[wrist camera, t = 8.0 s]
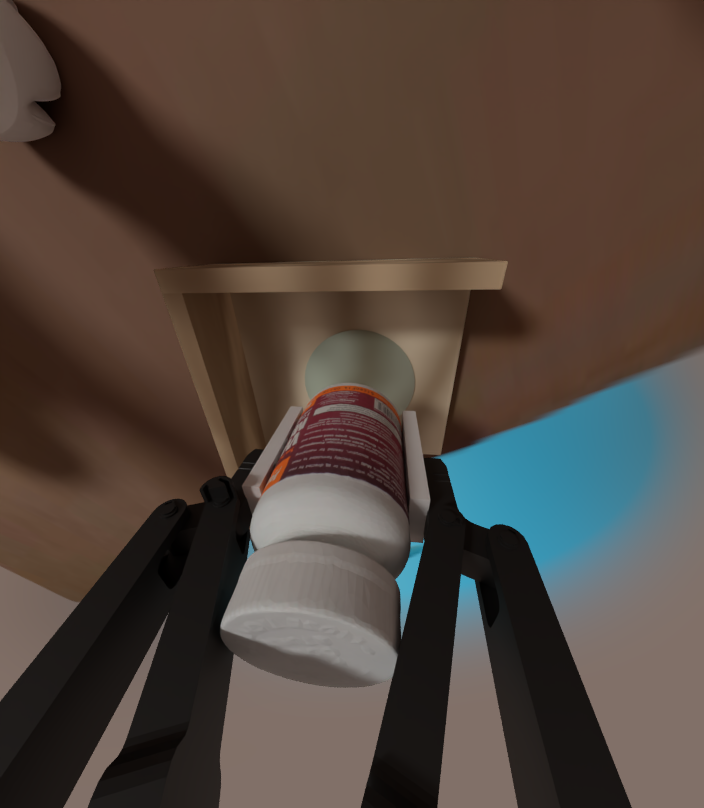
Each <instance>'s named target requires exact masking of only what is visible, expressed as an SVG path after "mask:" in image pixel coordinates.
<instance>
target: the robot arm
mask: <svg viewBox="0 0 704 808" xmlns="http://www.w3.org/2000/svg"><path fill="white" fill-rule="evenodd" d="M302 413H303V407H295V406H291V407H290V408H289V410H288V412H287V413H286V415H285V416H284V418H283V420H282V421H281V423H280V425H279V426H278V428H277V430H276V431H275V433H274V434H273V436H272V438H271V439H270V441H269V443H268V444H267V446H266V447H265V449H254V450H253V451H252V452H250V453H249V454H248V455H247V456H246V458H245V459H244V461H243V463H242V464H241V465H240V467H239V469H237V471H236V472H235V474H234V475H233V477H232V478H230V477H227V476H219V477H215V478H212V479H210V480H209V481H207V482H206V483H205V484H203V485H202V487H201V488H200V492H201V495H202V497H203V499H204V501H205V502H203V503H198V504H193V505H188V506H187V504H186V502H185V501H184V500H182V499H172V500H169V501H167V502H165V503H163V504H161V505H160V506H158V507H157V508H156V509H155V510H154V511H153V513H152V514H151V515H150V516H149V518H148V519H147V520H146V521H145V523H144V524H143V525H142V526H141V527H140V529H139V530H138V531H137V532H136V534H135V535H134V536H133V537H132V539H131V540H130V541H129V542H128V544H127V545H126V546H125V547H124V549H123V550H122V551H121V552H120V554H119V555H118V556H117V557H116V559H115V560H114V561H113V562H112V563H111V565H110V566H109V567H108V568H107V570H106V571H105V572H104V573H103V575H102V576H101V577H100V578H99V580H98V581H97V582H96V583H95V585H94V586H93V587H92V588H91V590H90V591H89V592H88V593H87V595H86V596H85V597H84V598H83V599H82V601H81V602H80V603H79V605H78V606H77V607H76V608H75V609H74V611H73V612H72V613H71V614H70V616H69V617H68V618H67V619H66V621H65V622H64V623H63V624H62V626H61V627H60V628H59V629H58V631H57V632H56V633H55V635H53V637H52V638H51V639H50V641H49V642H48V643H47V644H46V645H45V647H44V648H43V649H42V650H41V652H40V653H39V654H38V655H37V657H36V658H35V659H34V660H33V662H32V663H31V664H30V665H29V667H28V668H27V669H26V670H25V672H24V673H23V674H22V675H21V676H20V678H19V679H18V680H17V681H16V683H15V684H14V685H13V686H12V688H11V689H10V690H9V691H8V693H7V694H6V695H5V696H4V698H3V699H2V700H1V702H0V808H63V807H64V805H65V804H66V801H67V800H68V798H69V796H70V794H71V792H72V791H73V788H74V787H75V785H76V783H77V781H78V779H79V778H80V776H81V774H82V772H83V770H84V768H85V766H86V765H87V763H88V761H89V759H90V757H91V755H92V754H93V752H94V750H95V748H96V746H97V744H98V742H99V741H100V739H101V737H102V735H103V733H104V731H105V729H106V727H107V726H108V724H109V722H110V720H111V718H112V716H113V715H114V713H115V711H116V709H117V707H118V705H119V704H120V702H121V700H122V698H123V696H124V694H125V692H126V691H127V689H128V687H129V685H130V683H131V681H132V679H133V678H134V675H135V674H136V672H137V670H138V668H139V666H140V665H141V663H142V661H143V659H144V657H145V655H146V653H147V652H148V650H149V648H150V646H151V644H152V642H153V640H154V639H155V637H156V635H157V633H158V631H159V629H160V628H161V626H162V624H163V622H164V620H165V618H166V616H167V615H168V617H167V620H166V623H165V626H164V629H163V631H162V634H161V637H160V640H159V643H158V647H157V649H156V653H155V655H154V658H153V661H152V664H151V667H150V670H149V673H148V676H147V680H146V682H145V685H144V688H143V691H142V694H141V697H140V700H139V703H138V706H137V709H136V712H135V715H134V718H133V721H132V724H131V727H130V730H129V733H128V736H127V739H126V741H125V744H124V746H123V749H122V750H121V752H120V754H119V755H118V757H117V758H116V759H115V760H114V761H113V762H112V763H111V764H110V765H109V766H108V767H107V768H106V770H105V772H104V773H103V775H102V777H101V779H100V780H99V782H98V784H97V786H96V789H95V791H94V793H93V796H92V798H91V800H90V803H89V806H88V808H219V799H220V789H221V771H220V748H221V741H222V734H223V726H224V719H225V712H226V705H227V698H228V691H229V683H230V676H231V669H232V662H233V655H234V653H233V652H232V651H230V650H229V649H228V647H227V646H226V645H225V644H224V642H223V641H222V639H221V636H220V626H221V622H222V619H223V616H224V614H225V611H226V609H227V606H228V604H229V602H230V600H231V597H232V595H233V593H234V590H235V588H236V586H237V583H238V580H239V577H240V574H241V572H242V570H243V567H244V565H245V563H246V561H247V555H248V548H249V541H250V530H249V526H250V524H251V519H252V515H253V513H254V510H255V508H256V505H257V503H258V501H259V499H260V497H261V495H262V493H263V491H264V489H265V487H266V485H267V483H268V481H269V479H270V477H271V474H272V472H273V470H274V468H275V467H276V465H277V463H278V461H279V459H280V456H281V454H282V452H283V450H284V448H285V446H286V444H287V442H288V440H289V438H290V437H291V435H292V432H293V431H294V429H295V426H296V425H297V423H298V421H299V419H300V417H301V415H302ZM401 429H402V440H403V441H402V443H403V458H404V470H405V481H406V495H407V507H408V515H409V523H410V540H411V542H419V543H423V539H424V541H425V542H424V546H423V550H422V554H421V559H420V563H419V567H418V571H417V575H416V580H415V584H414V588H413V593H412V597H411V601H410V605H409V610H408V614H407V618H406V623H405V626H404V631H403V635H402V639H401V643H400V648H399V652H398V656H397V660H396V665H395V669H394V673H393V677H392V682H391V686H390V690H389V694H388V699H387V703H386V707H385V712H384V716H383V720H382V724H381V728H380V733H379V737H378V741H377V745H376V750H375V754H374V758H373V762H372V766H371V770H370V774H369V778H368V781H367V785H366V789H365V793H364V797H363V801H362V805H361V808H437V804H438V794H439V784H440V774H441V764H442V754H443V745H444V734H445V725H446V715H447V705H448V696H449V685H450V676H451V666H452V656H453V646H454V636H455V627H456V617H457V607H458V597H459V587H460V577H461V574H462V575H465V576H467V577H469V578H472V579H474V580H475V584H476V589H477V594H478V600H479V605H480V610H481V615H482V620H483V625H484V631H485V636H486V641H487V646H488V652H489V657H490V662H491V668H492V673H493V678H494V683H495V689H496V694H497V699H498V705H499V709H500V715H501V720H502V726H503V731H504V736H505V741H506V746H507V752H508V757H509V762H510V768H511V773H512V778H513V783H514V789H515V793H516V799H517V804H518V808H632V807H631V805H630V802H629V799H628V797H627V794H626V792H625V789H624V787H623V784H622V782H621V779H620V777H619V774H618V772H617V769H616V767H615V764H614V761H613V759H612V756H611V754H610V751H609V749H608V746H607V744H606V741H605V738H604V736H603V734H602V731H601V728H600V726H599V723H598V721H597V718H596V716H595V713H594V710H593V708H592V706H591V703H590V700H589V698H588V695H587V693H586V690H585V688H584V685H583V683H582V680H581V678H580V675H579V672H578V670H577V667H576V665H575V662H574V660H573V657H572V655H571V652H570V649H569V647H568V644H567V642H566V640H565V637H564V635H563V632H562V629H561V627H560V624H559V621H558V619H557V617H556V614H555V612H554V609H553V606H552V604H551V601H550V599H549V596H548V594H547V591H546V588H545V586H544V583H543V581H542V579H541V576H540V573H539V571H538V568H537V566H536V563H535V560H534V558H533V555H532V553H531V550H530V548H529V545H528V543H527V541H526V540H525V538H524V536H523V535H521V534H520V533H519V532H518V531H517V530H515V529H514V528H512V527H510V526H506V525H503V524H502V525H501V524H499V525H494V526H492V527H491V528H490V529H487V528H484V527H481V526H479V525H476V524H474V523H471V522H470V521H468V520H467V519H465V518H464V517H463V515H462V514H461V513H460V512H459V510H458V508H457V504H456V501H455V497H454V493H453V489H452V486H451V483H450V478H449V476H448V471H447V467H446V465H445V464H444V463H443V462H442V460H441V459H436V458H423V453H422V447H421V441H420V435H419V429H418V424H417V418H416V412H415V411H402V423H401ZM168 613H169V614H168Z"/></svg>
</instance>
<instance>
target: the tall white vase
mask: <svg viewBox="0 0 704 808" xmlns="http://www.w3.org/2000/svg"><path fill="white" fill-rule="evenodd" d="M60 91H61V82H60V78H59V74H58V71H57V68H56V65H55V62H54V60H53V59H52V57H51V55H50V54H49V52H48V51H47V49H46V47H45V45H44V43H43V42H42V41H41V39H40V38H39V37H38V35H37V34H36V33H35V31H34V30H33V29H32V28H31V27H30V25H29V24H28V23H27V22H26V21H25V19H24V18H23V17H22V16H21V15H20V14H19V13H18V9H17V6H16V5H15V3H14V2H13V1H12V0H0V141H8V142H27V141H34V140H37V139H40V138H43V137H46V136H48V135H50V134H51V133H53V130H54V127H55V125H56V124H55V123H54V122H53V120H52V119H51V118H50V117H49V116H48V114H47V113H46V112H45V111H44V110H43V109H42V108H41V107H40V106H39V105H38V104H37V103H36V102H35V101H52V100H56V99H58V98H60V97H61V94H60Z"/></svg>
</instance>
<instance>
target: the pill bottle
mask: <svg viewBox="0 0 704 808" xmlns="http://www.w3.org/2000/svg"><path fill="white" fill-rule="evenodd" d="M402 441H403V440H402V429H401V421H400V417H399V414H398V412H397V410H396V408H395V406H394V405H393V403H392V402H391V401H390V400H389V399H388V398H387V397H386V396H385V395H383V394H382V393H381V392H379V391H377V390H376V389H373V388H371V387H368V386H366V385H362V384H357V383H340V384H335V385H331V386H328V387H326V388H324V389H322V390H321V391H319V392H318V393H317V394H316V395H315V396H314V397H313V398H312V399H311V400H310V401H309V403H308V404H307V406H306V408H305V409H304V411H303V413H302V415H301V417H300V419H299V421H298V423H297V425H296V426H295V429H294V431H293V432H292V435H291V437H290V438H289V440H288V442H287V444H286V446H285V448H284V450H283V452H282V454H281V456H280V459H279V461H278V463H277V465H276V467H275V468H274V470H273V472H272V474H271V477H270V479H269V481H268V483H267V485H266V487H265V489H264V491H263V493H262V495H261V497H260V499H259V501H258V503H257V505H256V508H255V510H254V513H253V515H252V519H251V525H250V536H251V542H252V546H253V548H254V551H255V552H254V553H253V554H252V555H251V556H250V557H249V558H248V560H247V561H246V563H245V565H244V567H243V570H242V572H241V574H240V577H239V580H238V583H237V586H236V588H235V590H234V593H233V595H232V597H231V600H230V602H229V604H228V606H227V609H226V611H225V614H224V616H223V619H222V622H221V626H220V636H221V639H222V641H223V642H224V644H225V645H226V646H227V647H228V649H229V650H230V651H232V652H233V653H234V654H235V655H237V656H238V657H240V658H241V659H243V660H244V661H246V662H248V663H249V664H251V665H254V666H255V667H257V668H260V669H262V670H265V671H267V672H270V673H273V674H275V675H278V676H282V677H284V678H287V679H291V680H295V681H299V682H303V683H308V684H314V685H319V686H328V687H365V686H371V685H375V684H378V683H382V682H385V681H387V680H389V679H390V678H392V677H393V673H394V669H395V665H396V660H397V656H398V652H399V648H400V643H401V629H400V628H401V626H400V610H401V606H400V590H399V587H398V585H397V582H396V581H395V579H396V578H397V577H398V576H399V575H400V574H401V572H402V571H403V569H404V567H405V565H406V563H407V561H408V558H409V553H410V544H411V540H410V523H409V515H408V507H407V495H406V481H405V470H404V458H403V443H402Z"/></svg>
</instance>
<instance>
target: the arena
mask: <svg viewBox="0 0 704 808" xmlns="http://www.w3.org/2000/svg"><path fill="white" fill-rule="evenodd" d="M507 263H508V261H500V260H491V259H483V258H474V257H470V258H430V259H390V260H350V261H310V262H270V263H230V264H207V265H196V266H186V267H175V268H165V269H154V273H155V275H156V278H157V281H158V284H159V287H160V290H161V292H162V295H163V298H164V301H165V304H166V306H167V309H168V312H169V315H170V318H171V320H172V323H173V326H174V329H175V332H176V334H177V337H178V340H179V343H180V346H181V349H182V351H183V354H184V357H185V360H186V363H187V365H188V368H189V371H190V374H191V377H192V379H193V382H194V385H195V388H196V391H197V393H198V396H199V399H200V402H201V405H202V408H203V410H204V413H205V416H206V419H207V422H208V424H209V427H210V430H211V433H212V436H213V438H214V441H215V444H216V447H217V450H218V452H219V455H220V458H221V461H222V464H223V466H224V469H225V472H226V475H227V477H230V478H232V477H233V475H234V474H235V472H236V471H237V469H239V467H240V465H241V464H242V463H243V461H244V459H245V458H246V456H247V455H248V454H249V453H250V452H252V451H253V450H254V449H265V447H266V446H267V444H268V443H269V441H270V439H271V438H272V436H273V434H274V433H275V431H276V430H277V428H278V426H279V425H280V423H281V421H282V420H283V418H284V416H285V415H286V413H287V412H288V410H289V408H290V407H291V406H295V407H303V411H304V409H305V408H306V406H307V404H308V403H309V401H310V400H311V399H312V398H313V397H314V396H315V395H316V394H317V393H318V392H319V391H321V390H322V389H324V388H326V387H328V386H331V385H335V384H340V383H357V384H362V385H366V386H368V387H371V388H373V389H376V390H377V391H379V392H381V393H382V394H383V395H385V396H386V397H387V398H388V399H389V400H390V401H391V402H392V403H393V405H394V406H395V408H396V410H397V412H398V414H399V417H400V421H401V423H402V411H415V412H416V418H417V424H418V429H419V435H420V441H421V447H422V453H423V454H430V455H441V451H442V445H443V440H444V434H445V429H446V423H447V418H448V412H449V407H450V401H451V396H452V390H453V385H454V379H455V374H456V368H457V363H458V357H459V352H460V346H461V341H462V335H463V330H464V324H465V319H466V313H467V308H468V302H469V297H470V291H471V290H484V289H501V288H502V284H503V280H504V275H505V271H506V267H507Z"/></svg>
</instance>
